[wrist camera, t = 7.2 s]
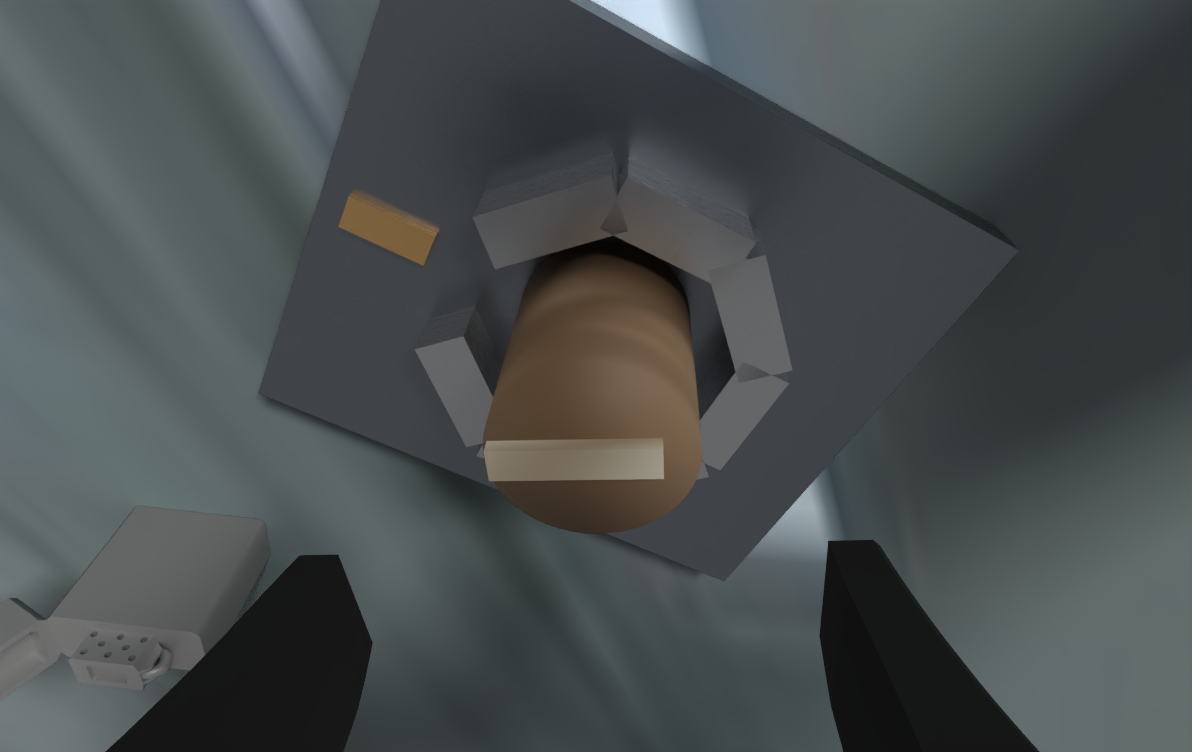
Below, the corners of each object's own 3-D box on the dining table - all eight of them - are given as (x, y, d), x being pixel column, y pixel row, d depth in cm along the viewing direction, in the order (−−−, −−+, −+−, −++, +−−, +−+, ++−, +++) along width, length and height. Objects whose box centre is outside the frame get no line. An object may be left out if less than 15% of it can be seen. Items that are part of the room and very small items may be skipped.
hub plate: (998, 228, 18) (1046, 279, 16) (720, 551, 24) (728, 619, 22) (424, -93, 15) (387, -84, 13) (276, 368, 21) (234, 426, 19)
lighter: (264, 520, 24) (120, 768, 18) (271, 558, 25) (137, 807, 19) (37, 494, 24) (-193, 733, 18) (53, 534, 25) (-160, 775, 19)
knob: (690, 237, 17) (705, 368, 13) (689, 387, 19) (702, 544, 15) (510, 244, 17) (463, 374, 13) (530, 391, 20) (495, 545, 15)
